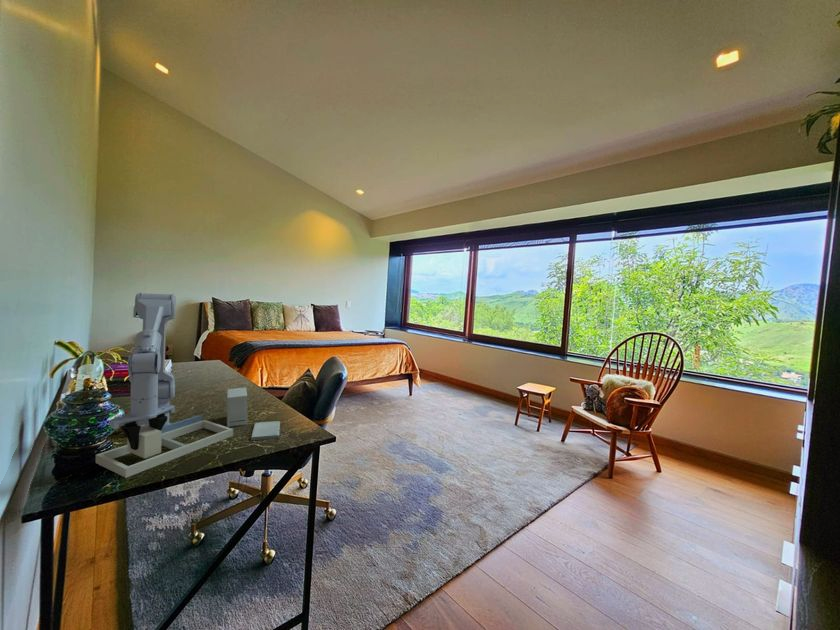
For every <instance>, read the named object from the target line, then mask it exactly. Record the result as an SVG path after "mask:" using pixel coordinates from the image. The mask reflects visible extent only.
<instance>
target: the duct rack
mask: <svg viewBox="0 0 840 630" xmlns="http://www.w3.org/2000/svg"><path fill="white" fill-rule="evenodd" d="M202 429H206V430H209V431H211V432H215V433H214V434H212V435H210V436H207V437H203V438H201V439H198V440H195V441H193V442H191V443H188V444H186V443H182V442H180V441H177V440H174V439H176V438H177V437H181V436H183V435H186V434H189V433H193V432H195V431H199V430H202ZM233 436H234V428H231V427H227V426H225V425H222V424H219V423H215V422H212V421H210V420H206V419H203V416H202V415H201V414H199V415H194V416H192V417H189V418H188V417H187V418H186V419H181V420H179V421H176V422H173V423H172V424H169V425H165V426H163V428H162V430H161V447H165V448H167V449H170V450H169V451H166V452H162V453H159V454H157V455H154V456H151V457H148V458H146V459H145V460H142V461H139V462H136V463H134V464H130V465H126V464H124V463H123V462H120V461H118V460H116V458H119V457H122V456H125V455H128V454H132V453H131V452H129V451H127V444H126V445H123V446H119V447H116V448H113V449H110V450H107V451H104V452H100V453H97V454H95V464H98V466H101V467H103V468H105V469H107V470H109V471H112V472H113V473H116V474H117V475H119V476H121V477H123V478H129V477H131V476H134V475H137V474H139V473H142V472H143V471H146V470H150V469H151V468H152V469H153V468H154V467H157V466H160V465H162V464H165V463H168V462H170V461H172V460H174V459H177V458H180V457H182V456H185V455H188V454H190V453H192V452H195V451H197V450H200V449H203V448H205V447H208V446H210V445H212V444H215V443H218V442H221V441H223V440H225V439H226V440H227V438H231V437H233Z"/></svg>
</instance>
